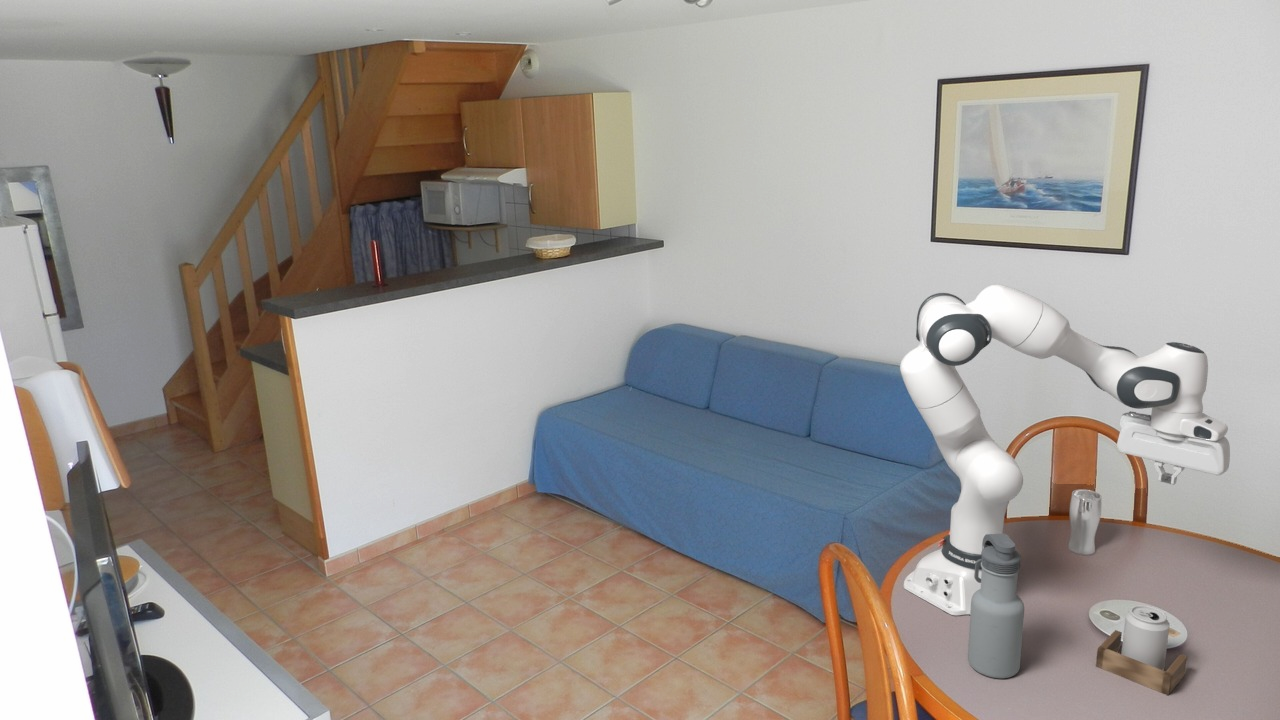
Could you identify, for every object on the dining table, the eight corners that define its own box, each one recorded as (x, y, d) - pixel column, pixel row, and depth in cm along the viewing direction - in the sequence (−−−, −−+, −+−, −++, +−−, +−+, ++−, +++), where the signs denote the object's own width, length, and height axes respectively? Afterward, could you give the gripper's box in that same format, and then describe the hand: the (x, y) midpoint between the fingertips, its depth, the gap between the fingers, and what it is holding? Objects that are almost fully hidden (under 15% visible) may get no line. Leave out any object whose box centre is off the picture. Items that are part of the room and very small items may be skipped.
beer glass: (1098, 546, 216) (1103, 492, 212) (1095, 558, 211) (1101, 502, 207) (1067, 540, 220) (1072, 486, 216) (1064, 552, 214) (1069, 497, 210)
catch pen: (1095, 666, 170) (1097, 648, 169) (1113, 647, 176) (1115, 630, 175) (1168, 695, 161) (1170, 677, 160) (1184, 674, 167) (1187, 656, 166)
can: (1167, 680, 165) (1174, 626, 162) (1123, 673, 168) (1129, 619, 165) (1160, 658, 172) (1166, 605, 169) (1117, 651, 174) (1123, 599, 171)
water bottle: (960, 650, 178) (966, 527, 170) (1007, 649, 177) (1016, 526, 170) (977, 681, 168) (985, 552, 160) (1027, 679, 167) (1038, 550, 160)
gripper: (1115, 412, 182) (1108, 473, 185) (1227, 435, 167) (1217, 500, 170) (1127, 406, 186) (1120, 465, 189) (1237, 427, 171) (1227, 491, 174)
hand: (1167, 482), depth 180 cm, fingers closed
